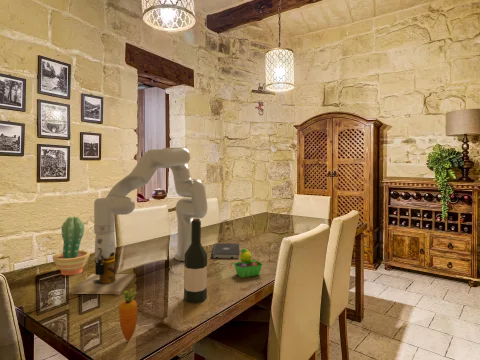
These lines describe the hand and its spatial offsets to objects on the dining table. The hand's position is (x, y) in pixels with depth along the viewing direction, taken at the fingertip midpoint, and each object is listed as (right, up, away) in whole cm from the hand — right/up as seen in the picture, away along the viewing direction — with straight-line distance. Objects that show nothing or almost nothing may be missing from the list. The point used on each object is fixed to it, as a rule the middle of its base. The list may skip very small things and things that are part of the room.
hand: (104, 270), depth 128 cm
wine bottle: (+38, -8, -10) cm, 40 cm away
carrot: (+23, -9, -39) cm, 46 cm away
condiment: (0, -5, 0) cm, 5 cm away
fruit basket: (+58, -7, +17) cm, 61 cm away
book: (+47, -5, +50) cm, 69 cm away
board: (0, -6, 0) cm, 6 cm away
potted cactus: (-22, -5, +16) cm, 27 cm away
